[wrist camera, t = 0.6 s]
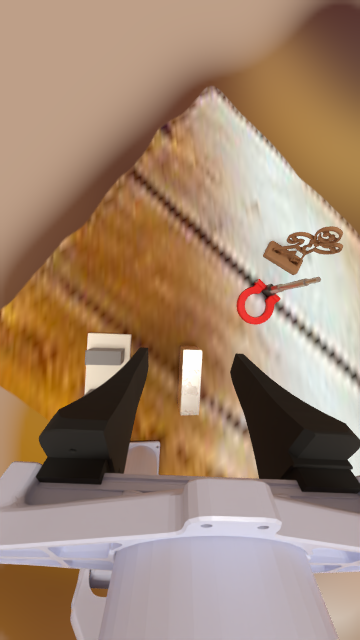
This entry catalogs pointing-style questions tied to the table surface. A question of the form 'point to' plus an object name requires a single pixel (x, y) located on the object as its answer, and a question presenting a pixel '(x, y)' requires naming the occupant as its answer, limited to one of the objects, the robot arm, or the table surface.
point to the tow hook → (271, 299)
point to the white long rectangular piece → (189, 380)
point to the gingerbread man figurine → (302, 248)
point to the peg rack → (105, 357)
